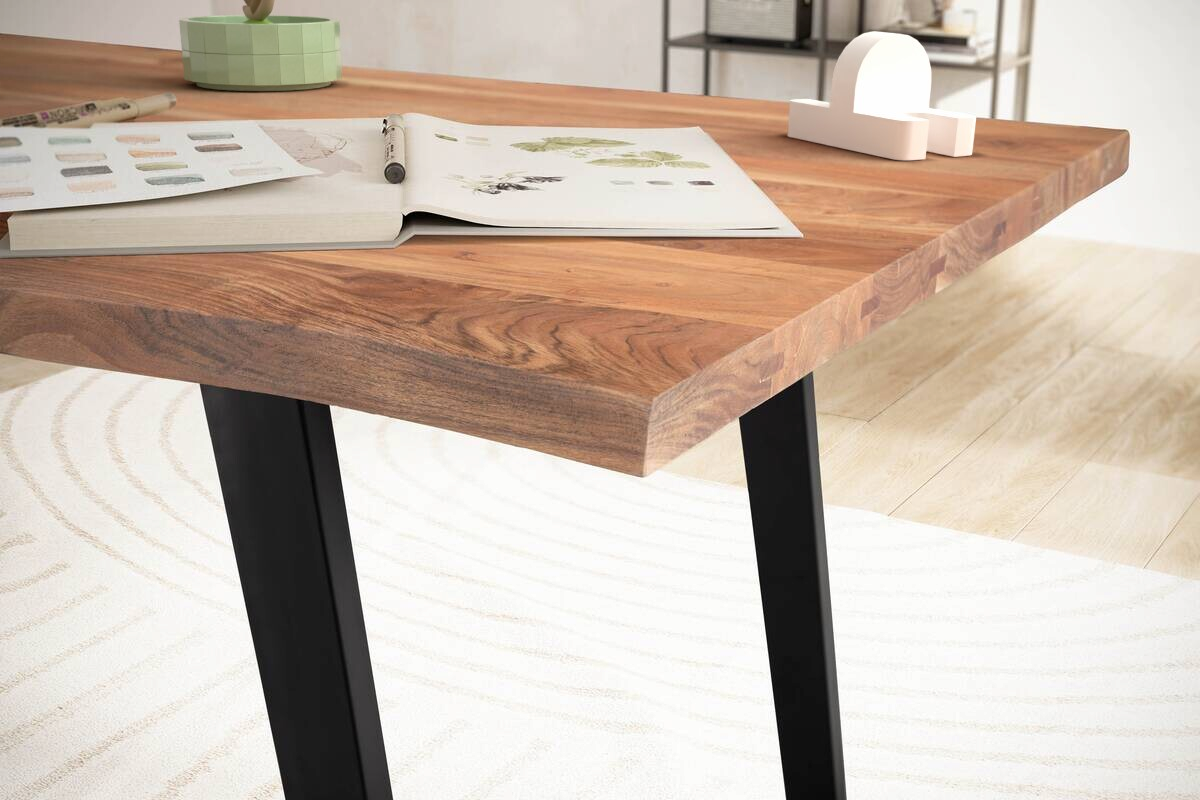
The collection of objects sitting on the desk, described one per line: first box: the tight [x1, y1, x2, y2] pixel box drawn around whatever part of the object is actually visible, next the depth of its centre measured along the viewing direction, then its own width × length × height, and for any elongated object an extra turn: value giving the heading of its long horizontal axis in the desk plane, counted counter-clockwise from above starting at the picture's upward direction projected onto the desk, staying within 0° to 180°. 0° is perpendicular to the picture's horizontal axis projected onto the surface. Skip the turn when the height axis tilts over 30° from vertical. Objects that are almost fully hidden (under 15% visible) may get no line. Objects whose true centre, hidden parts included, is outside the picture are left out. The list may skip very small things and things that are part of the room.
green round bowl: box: [178, 14, 343, 92], centre depth 122 cm, size 15×15×6 cm
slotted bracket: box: [787, 30, 977, 161], centre depth 91 cm, size 13×7×8 cm, turn 29°
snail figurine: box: [242, 0, 275, 23], centre depth 121 cm, size 5×6×12 cm
